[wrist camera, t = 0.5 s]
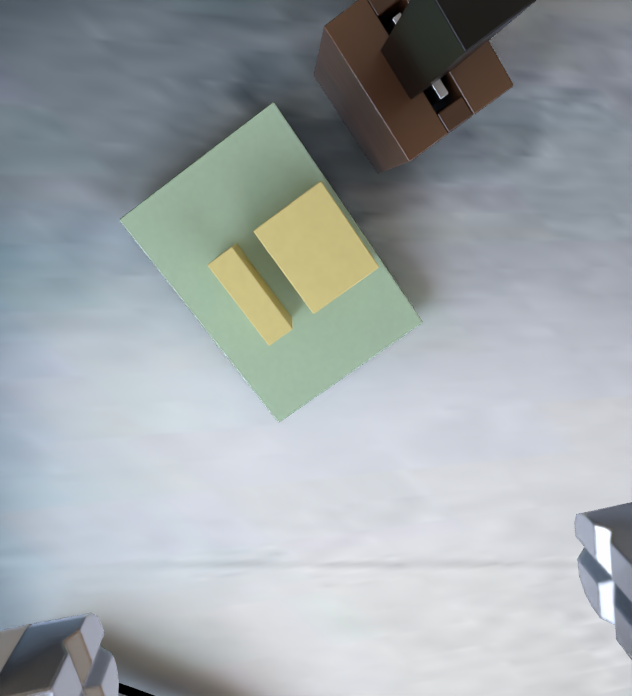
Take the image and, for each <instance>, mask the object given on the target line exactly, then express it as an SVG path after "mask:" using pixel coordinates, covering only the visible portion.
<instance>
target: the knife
mask: <svg viewBox="0 0 632 696" xmlns="http://www.w3.org/2000/svg"><path fill="white" fill-rule="evenodd" d="M535 1H536V0H410V1H409V3H408V5H407V6H406V8H405V10H404V11H403V13H402V14H401V13H398V14H397V15H396V16H394V17H393V18H392V20H391V22H390V23H389V25H388V27H387V29H386V31H387V33H388V35H389V37H388V38H387V40H386V42H385V43H384V45H383V47H382V48H381V52H382V54H383V56H384V57H385V59H386V60H387V62H388V64H389V65H390V67H391V69H392V70H393V72H394V73H395V75H396V77H397V78H398V80H399V82H400V83H401V85H402V86H403V88H404V90H405V91H406V93H407V95H408V96H409V98H410V99H414V98H415V97H416V96H418V95H419V94H420V93H422V92H424V94H425V96H426V97H427V99H428V101H429V102H430V104H431V106H432V105H434V104H435V103H437V102H438V101H439V100H441V99H442V98H443V97H445V96H446V95H448V91H447V90H446V88H445V86H444V85H443V83H442V81H441V80H440V78H442V77H443V76H444V75H446V74H447V73H449V72H450V71H451V70H453V69H454V68H455V67H457V66H458V65H459V64H461V63H462V62H463V61H464V60H465V59H467V58H468V57H469V56H470V55H471V54H473V53H474V52H475V51H476V50H477V49H479V48H480V47H481V46H482V45H483V44H485V43H486V42H487V41H488V40H489V39H491V38H492V37H493V36H494V35H495V34H497V33H498V32H499V31H500V30H501V29H503V28H504V27H505V26H506V25H507V24H509V23H510V22H511V21H512V20H513V19H515V18H516V17H517V16H518V15H519V14H521V13H522V12H523V11H524V10H525V9H527V8H528V7H529V6H530V5H531V4H533V3H534V2H535Z"/></svg>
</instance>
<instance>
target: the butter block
mask: <svg viewBox="0 0 632 696" xmlns="http://www.w3.org/2000/svg"><path fill="white" fill-rule="evenodd" d="M254 233H255V235H256V236H257V237H258V239H259V240H260V242H261V243H262V244H263V246H264V247H265V248H266V250H267V251H268V253H269V254H270V255H271V257H272V258H273V259H274V261H275V262H276V264H277V265H278V266H279V268H280V269H281V270H282V272H283V273H284V275H285V276H286V277H287V279H288V280H289V281H290V283H291V284H292V285H293V287H294V288H295V290H296V291H297V292H298V294H299V295H300V296H301V298H302V299H303V301H304V302H305V303H306V305H307V306H308V307H309V309H310V310H311V312H312V313H313V314H315V313H316V312H318V311H319V310H320V309H322V308H323V307H325V306H326V305H327V304H329V303H330V302H332V301H333V300H334V299H336V298H337V297H339V296H340V295H341V294H343V293H344V292H346V291H347V290H348V289H350V288H351V287H353V286H354V285H355V284H357V283H358V282H360V281H361V280H362V279H364V278H365V277H367V276H368V275H369V274H371V273H372V272H374V271H375V270H376V269H378V268H379V265H378V264H377V262H376V261H375V259H374V258H373V256H372V255H371V253H370V252H369V250H368V249H367V248H366V246H365V245H364V243H363V242H362V240H361V239H360V237H359V236H358V234H357V233H356V231H355V230H354V228H353V227H352V225H351V224H350V223H349V221H348V220H347V218H346V217H345V215H344V214H343V212H342V211H341V209H340V208H339V206H338V205H337V203H336V202H335V200H334V199H333V198H332V196H331V195H330V193H329V192H328V190H327V189H326V187H325V186H324V184H323V183H322V182H321V181H320V182H318V183H317V184H316V185H314V186H313V187H312V188H310V189H309V190H307V191H306V192H305V193H303V194H302V195H301V196H299V197H298V198H297V199H295V200H294V201H293V202H291V203H290V204H289V205H287V206H286V207H284V208H283V209H282V210H280V211H279V212H278V213H276V214H275V215H274V216H272V217H271V218H270V219H268V220H267V221H266V222H264V223H263V224H262V225H260V226H259V227H257V228H256V229H255V230H254Z"/></svg>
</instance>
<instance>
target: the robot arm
mask: <svg viewBox="0 0 632 696" xmlns="http://www.w3.org/2000/svg"><path fill="white" fill-rule="evenodd" d="M575 536H576V537H577V538H578V540H579V541H580V542H581V543H582V544H583V546H584V549H583V550H582V552H581V554H580V555H579V557H578V559H577V561H578V569H579V577H580V580H581V583H582V586H583V589H584V592H585V595H586V596H587V598H588V600H589V602H590V604H591V606H592V607H593V609H594V610H595V611H596V613H597V614H598V616H599V617H600V618H601V619H603V620H605V621H607V622H609V623H611V624H613V625H615V630H616V640H617V641H618V642H619V644H620V645H621V646H622V648H623V649H624V650H625V652H626V653H627V654H628V656H629V657H630V658H631V660H632V502H631V503H626V504H621V505H617V506H612V507H607V508H603V509H598V510H593V511H589V512H584V513H579V514H576V518H575ZM104 633H105V632H104V629H103V627H102V624H101V622H100V619H99V617H98V616H97V615H95V614H93V613H88V614H82V615H77V616H71V617H66V618H60V619H55V620H49V621H44V622H38V623H34V624H28V625H23V626H18V627H13V628H8V629H4V630H3V631H1V632H0V696H118V690H119V677H118V671H117V665H116V662H115V660H114V657H113V654H112V653H110V652H109V651H107V650H106V649H105V648H103V647H102V646H100V643H101V641H102V638H103V636H104Z"/></svg>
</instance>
